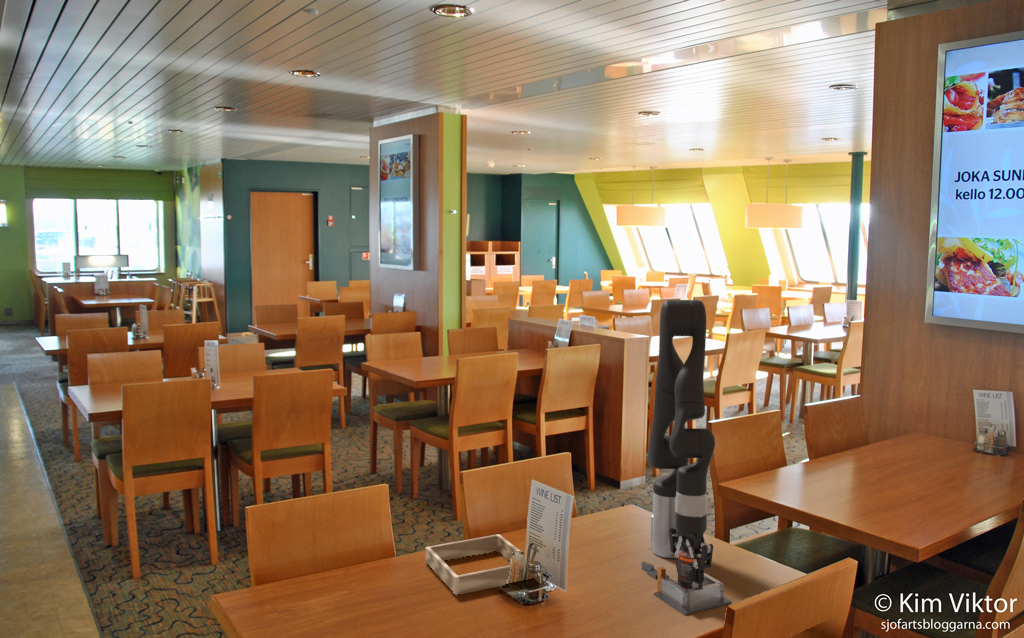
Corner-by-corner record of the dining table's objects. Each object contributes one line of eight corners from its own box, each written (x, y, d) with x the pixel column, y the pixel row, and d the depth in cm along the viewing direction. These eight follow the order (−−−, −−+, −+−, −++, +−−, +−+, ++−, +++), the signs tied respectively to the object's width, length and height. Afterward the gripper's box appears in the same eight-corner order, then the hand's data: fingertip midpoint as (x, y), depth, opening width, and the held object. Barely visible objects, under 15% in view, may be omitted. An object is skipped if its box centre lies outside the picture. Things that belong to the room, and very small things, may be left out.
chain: (639, 568, 202) (639, 562, 201) (646, 567, 203) (646, 560, 202) (672, 589, 189) (672, 582, 189) (679, 587, 190) (679, 581, 190)
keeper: (653, 594, 186) (653, 568, 186) (698, 583, 192) (698, 558, 192) (684, 615, 175) (685, 588, 175) (731, 603, 181) (732, 576, 181)
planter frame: (425, 563, 206) (425, 547, 205) (499, 549, 215) (499, 534, 215) (455, 595, 186) (455, 577, 186) (534, 578, 195) (534, 561, 195)
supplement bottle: (703, 593, 181) (704, 547, 180) (677, 591, 182) (678, 545, 181) (702, 583, 187) (702, 538, 186) (677, 581, 188) (678, 536, 187)
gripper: (660, 503, 188) (659, 569, 189) (698, 521, 175) (696, 592, 176) (684, 499, 191) (683, 563, 192) (723, 516, 178) (722, 585, 180)
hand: (689, 577), depth 184 cm, fingers closed on supplement bottle, 6 cm apart
